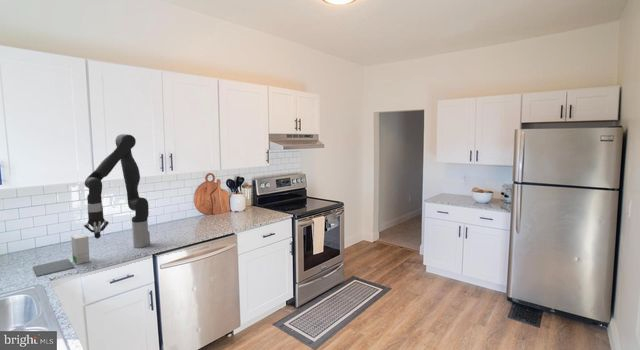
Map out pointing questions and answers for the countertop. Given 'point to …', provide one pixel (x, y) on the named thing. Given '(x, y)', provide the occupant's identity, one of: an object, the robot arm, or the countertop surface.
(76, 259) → the skincare box
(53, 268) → the mat
